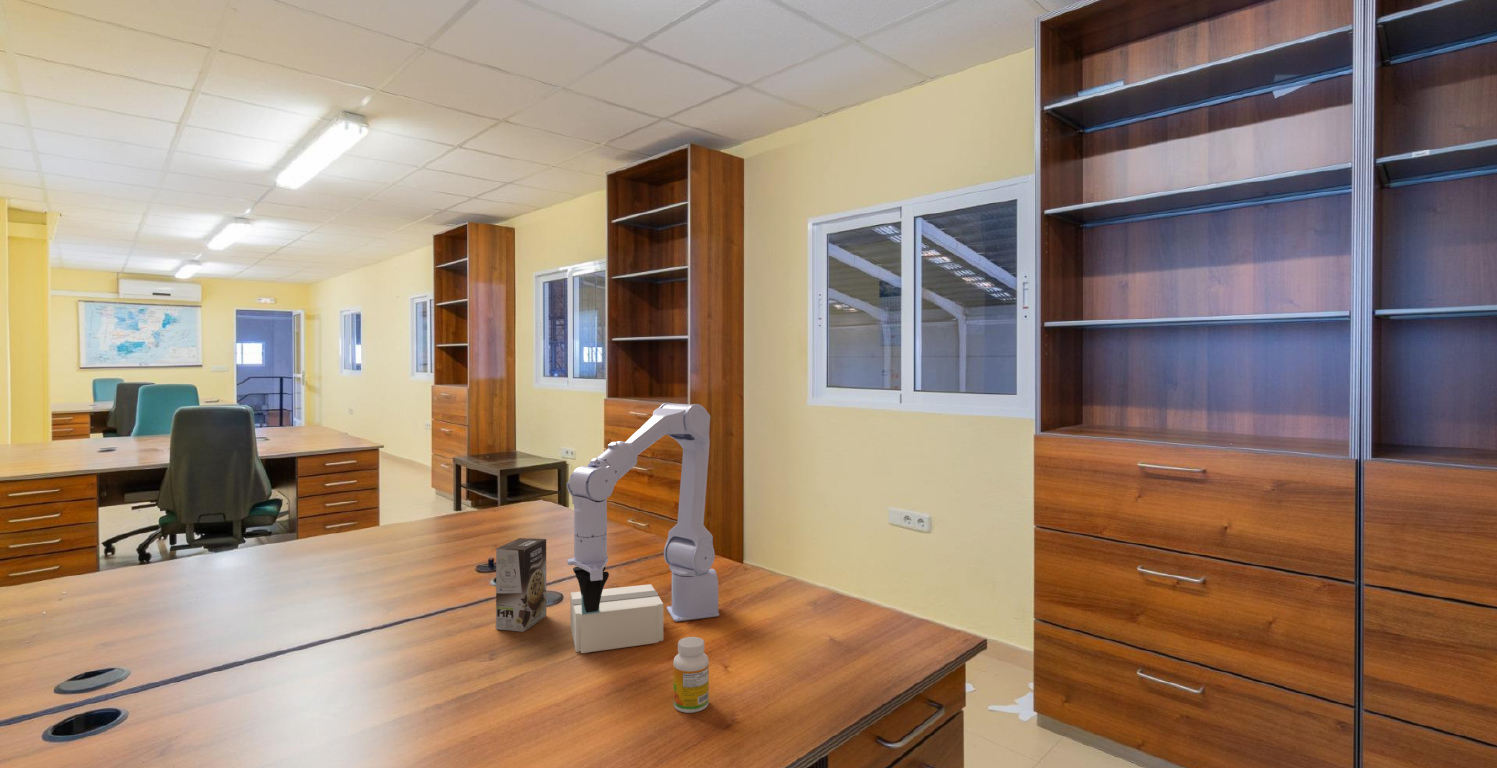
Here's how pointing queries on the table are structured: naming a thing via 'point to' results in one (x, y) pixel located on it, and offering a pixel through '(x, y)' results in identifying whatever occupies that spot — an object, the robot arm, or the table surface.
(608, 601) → the carton
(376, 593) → the table surface
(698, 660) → the supplement bottle
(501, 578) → the coffee box
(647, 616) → the green beige flat block
